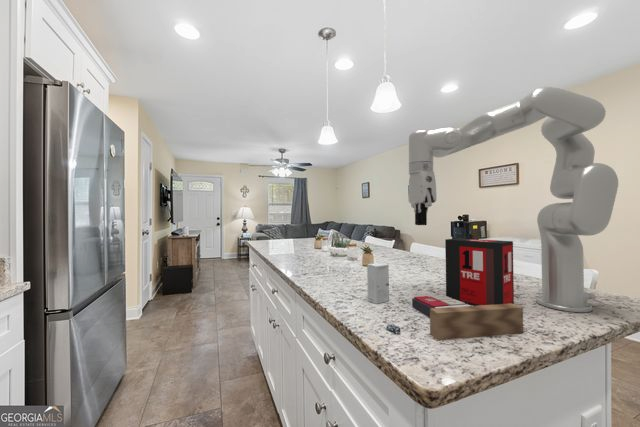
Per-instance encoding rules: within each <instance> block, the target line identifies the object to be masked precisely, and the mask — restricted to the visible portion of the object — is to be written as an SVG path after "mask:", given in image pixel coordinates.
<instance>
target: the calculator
mask: <svg viewBox="0 0 640 427" xmlns="http://www.w3.org/2000/svg"><path fill="white" fill-rule="evenodd" d="M411 303H412V304H411V305H412V308H413V309H414V310H416V311H418V312H420V313H421V314H423V315H424V316H426V317H428V318H430V309H431V308H447V307H463V306H471V305H468V304H465V303H463V302H461V301H458V300H455V299H452V298H450V297H447V296H446V295H444V294H435V295H424V296H422V295H421V296H414V297H413V298H411Z"/></svg>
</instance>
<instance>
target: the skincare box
mask: <svg viewBox="0 0 640 427" xmlns="http://www.w3.org/2000/svg"><path fill="white" fill-rule="evenodd" d="M366 268H367V271H366V272H367V273H366V274H367V276H366V278H367V288H366V289H367V301H368V302H370V303H372V304H374V305H375V304H376V305H377V304H382V303H386V302H389V301H390V284H389V283H390V281H389V280H390V274H389V270H390V269H389V264H388V263H383V262H376V263H367V266H366Z"/></svg>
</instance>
